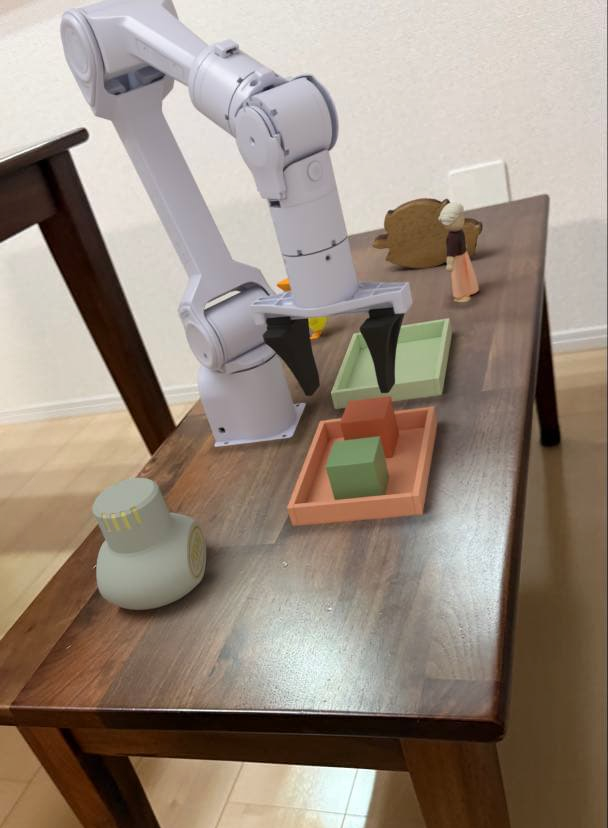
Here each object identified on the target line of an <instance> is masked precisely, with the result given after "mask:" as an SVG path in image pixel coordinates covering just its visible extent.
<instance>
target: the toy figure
mask: <svg viewBox="0 0 608 828" xmlns="http://www.w3.org/2000/svg"><path fill="white" fill-rule="evenodd" d="M276 286H277V288H279V289H280V290H282V291H283V292H289V291H291V287H290V284H289V280H288V277H286V278H284V279H282V280H280V281H279V282H277V284H276ZM327 321H328V317H317V318H309V329H310V330H312V331H313V332H314V333H312V334H311V336H310V339H311V340H314V339H318V338H320V337H321V336H320V335H322V334H323V333H322V330H323V329H324V328H325V327H326V324H327Z"/></svg>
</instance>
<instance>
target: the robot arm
mask: <svg viewBox="0 0 608 828" xmlns="http://www.w3.org/2000/svg"><path fill="white" fill-rule="evenodd" d="M178 15H179V14H178V13H177V9H176V7H175V5H174V2H173V0H101V1H97V2H94V3H90V4H88V5H85V6H81V7H78V8H77V7H76V8H75V7H73V8H68V9H65V10H64V11H63V13H62V14H61V20H60V24H59V25H60V26H59V35H60V40H61V44H62V48H63V56H64V58H65V61H66V63H67V66H68V68H69V70H70V72H71V74H72V76H73V78H74V79H75V82H76V84H77V86H78V87H79V90H80V91H81V94H82V96H83V97H84V100H85V101H86V103H87V104H88V106H89V107H90V109H91V112H92V114H93V115H94V116H95V117H97V118H100V119H104V120H107V121H110V122H111V123H112V125H113V127H114V129H115V131H116V133H117V135H118V137H119V139H120V141H121V143H122V145H123V147H124V149H125V152H126V153H127V156H128V157H129V160H130V161H131V164H132V165H133V167H134V170H135V171H136V174H137V176H138V178H139V180H140V181H141V184H142V186H143V188H144V190H145V191H146V194H147V196H148V199H149V200H150V202H151V204H152V206H153V208H154V210H155V212H156V214H157V215H158V218H159V220H160V222H161V224H162V226H163V229H164V230H165V232H166V234H167V236H168V238H169V240H170V242H171V244H172V247H173V249H174V250H175V252H176V255H177V257H178V259H179V261H180V263H181V264H182V267H183V269H184V271H185V273H186V275H187V277H188V282H187V285H186V287H185V290H184V292H183V294H182V296H181V298H180V301H179V303H178V307H177V313H178V317H179V319H180V321H181V324H182V326H183V329H184V333H185V338H186V341H187V343H188V346H189V349H190V351H191V352H192V354H193V356H194V357H195V359H196V360H197V361H198V362H199V364H201V366H200V368H199V369H198V373H197V389H198V390H197V391H198V395H199V398H200V403H201V405H202V408H203V410H204V412H205V416H206V420H207V421H208V424H209V427H210V430H211V432H212V435H213V437H214V441H215V443H214V444H213V446H214V448H218V447H224V446H225V447H226V446H233V445H234V446H235V445H242V444H251V443H257V442H266V441H273V440H282V439H290V438H292V437H293V436H294V434H295V433H296V429H297V427H298V424H299V422H300V420H301V417H302V415H303V413H304V411H305V408H306V405H307V404H306V403H305V402H300V403H294V401H293V397H292V393H291V390H290V387H289V383H288V380H287V377H286V376H287V375H286V373H285V368H284V366H283V362H284V364H285V365H286V366H287V368H288V369H289V370H290V372H291V373H292V375H293V376H294V378H295V379H296V380H297V383H298V385H299V386H300V388H301V390H302V391H303V393H304V395H305V396H306V397H311V396H313V395H314V394H315V392H317V390H318V389H319V388H320V387H321V381H320V375H319V371H318V367H317V363H316V360H315V356H314V351H313V348H312V341H311V340H312V339H310V337H311V332H310V327H309V318H317V317H339V316H349V315H350V316H351V315H362V314H368V316H369V317H367V318H366V319H365V320H364V321H363V323H362V324H360V326H359V333H360V332H361V334H362V336H363V338H364V340H365V342H366V344H367V346H368V349H369V351H370V354H371V357H372V360H373V363H374V368H375V373H376V378H377V383H378V386H379V389H380V391H381V393H389V391H390V390H391V389H392V387H393V386H394V384H395V358H396V349H397V342H398V337H399V332H400V328H401V326H402V325H403V320H404V318H405V314H406V313H407V312H408V310H409V309H410V308H411V307H412V305H413V303H414V302H413V297H412V292H411V285H410V282H409V281H406V282H405V281H403V282H383V281H368V280H367V281H366V280H358V276H357V272H356V266H355V262H354V260H353V255H352V254H353V253H352V250H351V245H350V240H349V236H348V231H347V226H346V222H345V218H344V213H343V208H342V203H341V199H340V195H339V189H338V186H337V185H338V184H337V181H336V175H335V172H334V167H333V164H332V163H333V161H332V159H331V158H332V157H331V153H330V151H331V150H333V149H334V147H335V146H336V144H337V141H338V138H339V131H340V129H339V127H340V125H339V123H340V122H339V115H338V112H337V108H336V104H335V102H334V100H333V97H332V95H331V93H330V91H329V90H328V88H327V87H326V86H325V85H324V84H323V83H322V81H320V80H319V79H318V78H317V77H316V76H315V75H314V74H313V73H310V72H303V73H301V74H298V75H296V76H294V77H293V76H291V75H289V76H286V77H283V76H282V75H280V74H278V73H277V72H275V71H274V70H273V69H271V68H270V67H268V66H266V65H264V64H263V63H261V62H260V61H258V60H257V59H256V58H254V57H252V56H251V55H249V54H248V53H246V52H245V51H243V50H242V49H240V44H238V43H237V42H235V40H232V39H231V38H230V39H226V40H223V41H219V42H218V41H217V42H215V43H212V44H210V45H209V44H208V43H206V42H205V41H204V40H203V39H202V38H200V37H199V36H198V35H197V33H195V32H193V31H192V30H191V29H190V28H189V27H187V26H186V24H184V22H182V21H181V20H180V19H179V16H178ZM175 81H177V82H178V83H180V84H182V85H184V86H185V87H187V88H188V96H189V99H190V102H191V103H192V106H193V107H194V108H195V110H197V111H198V112H199V113H200V114H201V115H203V116H204V117H206V118H207V119H208V120H210V121H211V122H212V123H213V124H215V125H216V126H218V127H219V128H221V130H223V131H224V132H226V133H227V134H229V135H230V136H231V137H232V138H234V140H235V143H236V147H237V149H238V152H239V154H240V156H241V158H242V160H243V162H244V163H245V165H246V167H247V168H248V169H249V171H250V173H251V175H252V177H253V181H254V183H255V186H256V190H257V192H259V196H260V197H261V198H262V199H265V200H266V202H267V204H268V208H269V212H270V216H271V220H272V225H273V227H274V232H275V235H276V238H277V242H278V247H279V250H280V253H281V258H282V260H283V265H284V268H285V272H286V275H287V278H288V280H289V284H290V287H291V290H289V291H284V292H281V293H276V292H275V290H274V289H272V287H271V286H270V284H269V283H268V281H267V280H266V278H265V276H264V274H263V273H262V270H261V269H259V268H258V267H255V266H253V265H249V264H247V263H242V262H241V261H237V260H235V259H233V257H232V255H231V253H230V251H229V249H228V247H227V245H226V243H225V241H224V238H223V236H222V234H221V232H220V230H219V228H218V226H217V224H216V222H215V220H214V217H213V215H212V213H211V211H210V209H209V207H208V205H207V203H206V201H205V199H204V196H203V194H202V193H201V190H200V188H199V186H198V184H197V182H196V180H195V178H194V176H193V173H192V171H191V170H190V167H189V165H188V162H187V161H186V159H185V157H184V155H183V152H182V150H181V148H180V146H179V144H178V142H177V140H176V138H175V135H174V133H173V132H172V130H171V128H170V125H169V123H168V121H167V119H166V117H165V114H164V112H163V101H164V100H165V99H166V97H167V96H168V95H169V94H170V93H171V92H172V90H174V86H175ZM232 292H238V293H235V294H234V295H231V296H230V297H228V298H225V299H223V300H222V301H219V302H217V303H215V304H213V305H210V306H208V307H206V306H207V304H209V303H211V302H213V301H215V300H217V299H219V298H222V297H223V296H225V295H227V294H230V293H232ZM205 307H206V308H205ZM282 361H283V362H282Z"/></svg>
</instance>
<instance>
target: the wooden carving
mask: <svg viewBox="0 0 608 828" xmlns="http://www.w3.org/2000/svg"><path fill="white" fill-rule="evenodd" d="M449 203H451V202H450V200H449V199H448V198H444V199H443V200H442V201H441V200H438V199H436V198H431V197H429V198H428V197H421V198H417V199H414V200H413V199H412V200H410V201H406V202H404V203H402V204H400V205H398V206H397V207H395V208H394V209H388V210H387V212H386V214H385V216H384V220H383V228H384V230H385V232H386V233H382V234H379V235H377V236H376V237H375V238H374V242H373V243H372V245H371V247H372V248H375V249H377V250H384V249H388V252H387V255H386V257H385V261H386V262H389V263H391V264H393V265H396V266H401V267H405V268H409V269H429V268H433V267H438V266H440V265H442V264H445V263H447V257H446V254H447V247H446V239H447V236H448V233H449V231H448V230H447V229H446V227H445V225H444V224H442V222H440V221H439V220H438V218H439V216H440V213H441V212H442V210H443V208H444V207H445V206H446V205H447V204H449ZM483 227H484V226H483V222H482V221H479V220H477V219H475V218H471V217H464V225H463V227H462V228H461V229H462V230H463V232H464V234H465V242H466V245H467V253H468V255H469V257H472V256H474V255H476V250H477V249H476V248H477V245H478V238H479V236H480V235H481V233H482V231H483Z"/></svg>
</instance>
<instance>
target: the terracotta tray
mask: <svg viewBox="0 0 608 828" xmlns="http://www.w3.org/2000/svg"><path fill="white" fill-rule="evenodd" d="M394 413H395V417H396V422H397V427H398V431H399V436H398V440H397V444H396V447H395V451H394V455H393V457H389V458H385V460H386V464H387V468H388V473H389V479H388V484H387V488H386V492H385V495H382V496H372V497H362V498H351V499H341V500H335V499H334V496H333V492H332V489H331V485H330V481H329V478H328V474H327V471H326V464H327V461H328V458H329V455H330V452H331V449H332V447H333V444H334V442H336V441H344V437H343V433H342V429H341V426H340V421H341V419H342V417H340V418H332V419H326V420H325V419H324V420H320V421H319V423H318V425H317V428H316V431H315V433H314V436H313V439H312V440H311V441H312V442H311V444H310V447H309V449H308V452H307V455H306V457H305V459H304V462H303V465H302V467H301V469H300V473H299V476H298V478H297V480H296V483H295V485H294V488H293V490H292V494H291V496H290V499H289V502H288V504H287V507H286V510H287V513H288V517H289V520H290V522H291V526H292V527H297V526H309V525H318V524H319V525H321V524H331V523H332V524H333V523H343V522H353V521H365V520H377V519H387V518H397V517H410V516H421V515H423V514H424V509H425V503H426V496H427V491H428V485H429V477H430V471H431V467H432V466H431V465H432V459H433V453H434V447H435V440H436V434H437V428H438V420H437V414H436V409H435V406H434V405H433V406H432V405H431V406H427V407H425V406H424V407H417V408H410V409H402V410H394Z"/></svg>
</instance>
